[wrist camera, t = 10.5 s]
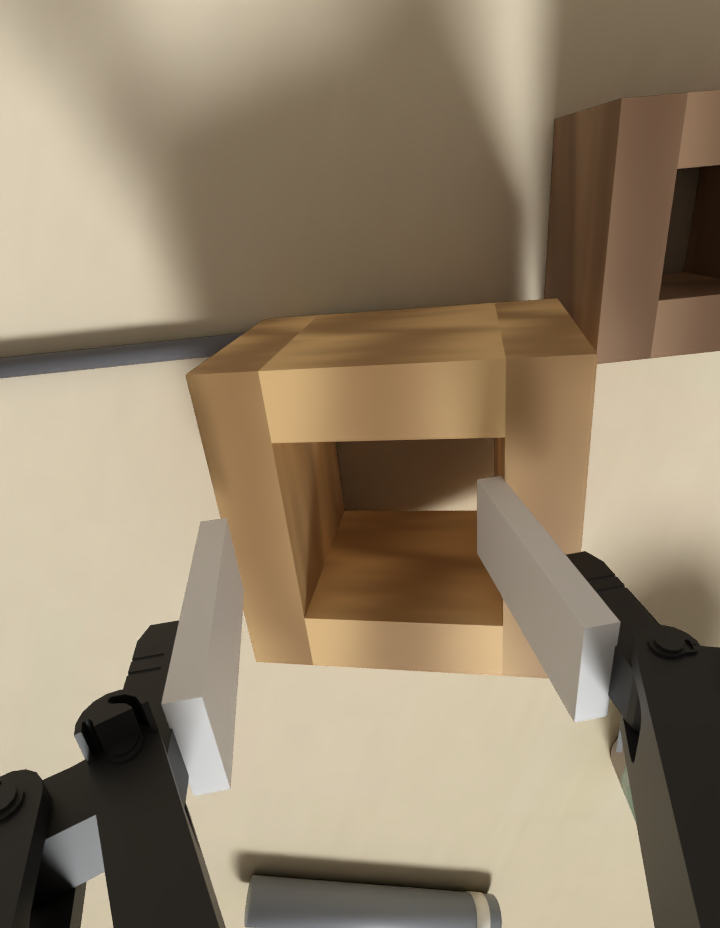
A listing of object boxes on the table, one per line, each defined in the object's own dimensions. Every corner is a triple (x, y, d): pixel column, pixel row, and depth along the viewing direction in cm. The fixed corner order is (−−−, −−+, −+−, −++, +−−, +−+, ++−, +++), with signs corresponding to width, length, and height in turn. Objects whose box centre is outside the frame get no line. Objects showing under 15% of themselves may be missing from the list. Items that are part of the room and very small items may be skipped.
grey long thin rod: (-37, 379, 23) (-48, 385, 23) (-45, 360, 23) (-56, 365, 22) (367, 337, 24) (369, 342, 23) (366, 318, 24) (368, 322, 23)
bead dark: (542, 333, 25) (595, 364, 20) (554, 119, 21) (621, 98, 17) (720, 314, 25) (812, 340, 20) (761, 100, 21) (882, 75, 17)
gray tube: (253, 864, 40) (487, 883, 43) (244, 908, 39) (480, 924, 43) (254, 892, 37) (504, 910, 40) (244, 939, 37) (497, 954, 40)
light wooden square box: (305, 549, 29) (256, 661, 22) (264, 318, 23) (185, 374, 17) (544, 553, 26) (570, 679, 20) (557, 298, 21) (597, 354, 15)
